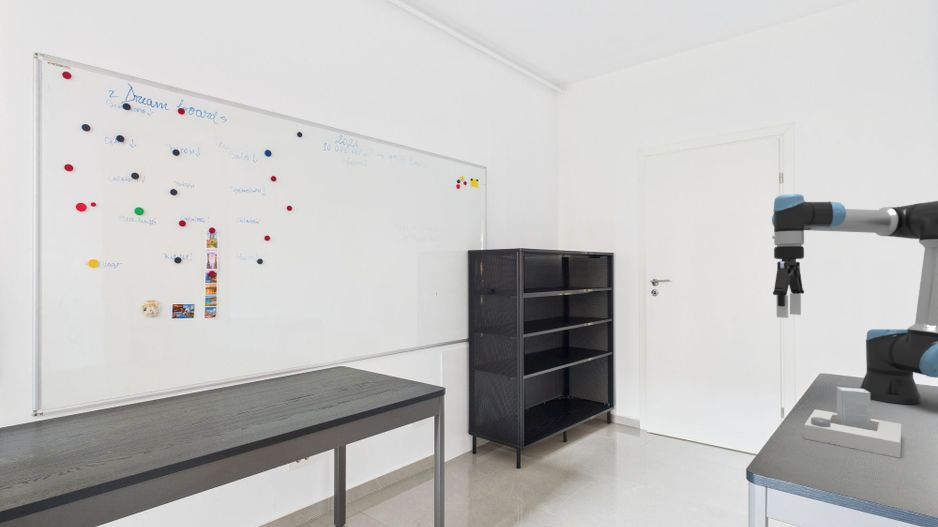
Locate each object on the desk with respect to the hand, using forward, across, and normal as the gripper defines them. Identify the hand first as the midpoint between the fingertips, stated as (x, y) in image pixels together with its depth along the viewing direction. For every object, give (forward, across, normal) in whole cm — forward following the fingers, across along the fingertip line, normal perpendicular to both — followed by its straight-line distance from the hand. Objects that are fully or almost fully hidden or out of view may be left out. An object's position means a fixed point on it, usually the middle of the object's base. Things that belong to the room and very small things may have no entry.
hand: (789, 316), depth 144 cm
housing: (+29, +15, +18) cm, 37 cm away
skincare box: (+29, +13, +17) cm, 36 cm away
